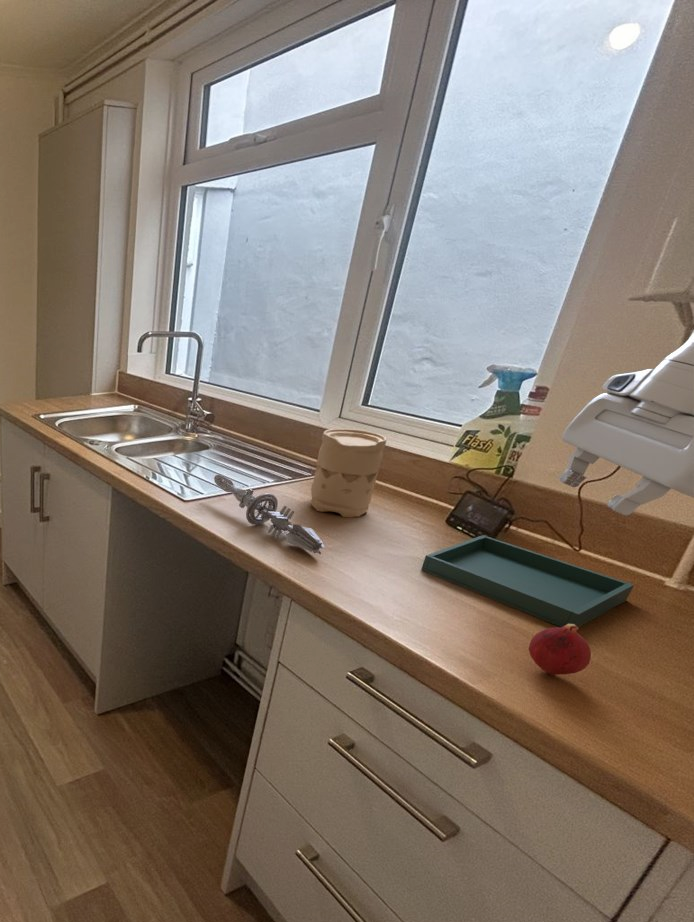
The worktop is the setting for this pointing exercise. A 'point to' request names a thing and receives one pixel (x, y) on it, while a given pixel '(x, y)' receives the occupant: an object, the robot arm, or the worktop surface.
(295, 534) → the spaceship
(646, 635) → the worktop surface
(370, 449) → the container
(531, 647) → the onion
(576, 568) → the tray
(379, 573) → the worktop surface
